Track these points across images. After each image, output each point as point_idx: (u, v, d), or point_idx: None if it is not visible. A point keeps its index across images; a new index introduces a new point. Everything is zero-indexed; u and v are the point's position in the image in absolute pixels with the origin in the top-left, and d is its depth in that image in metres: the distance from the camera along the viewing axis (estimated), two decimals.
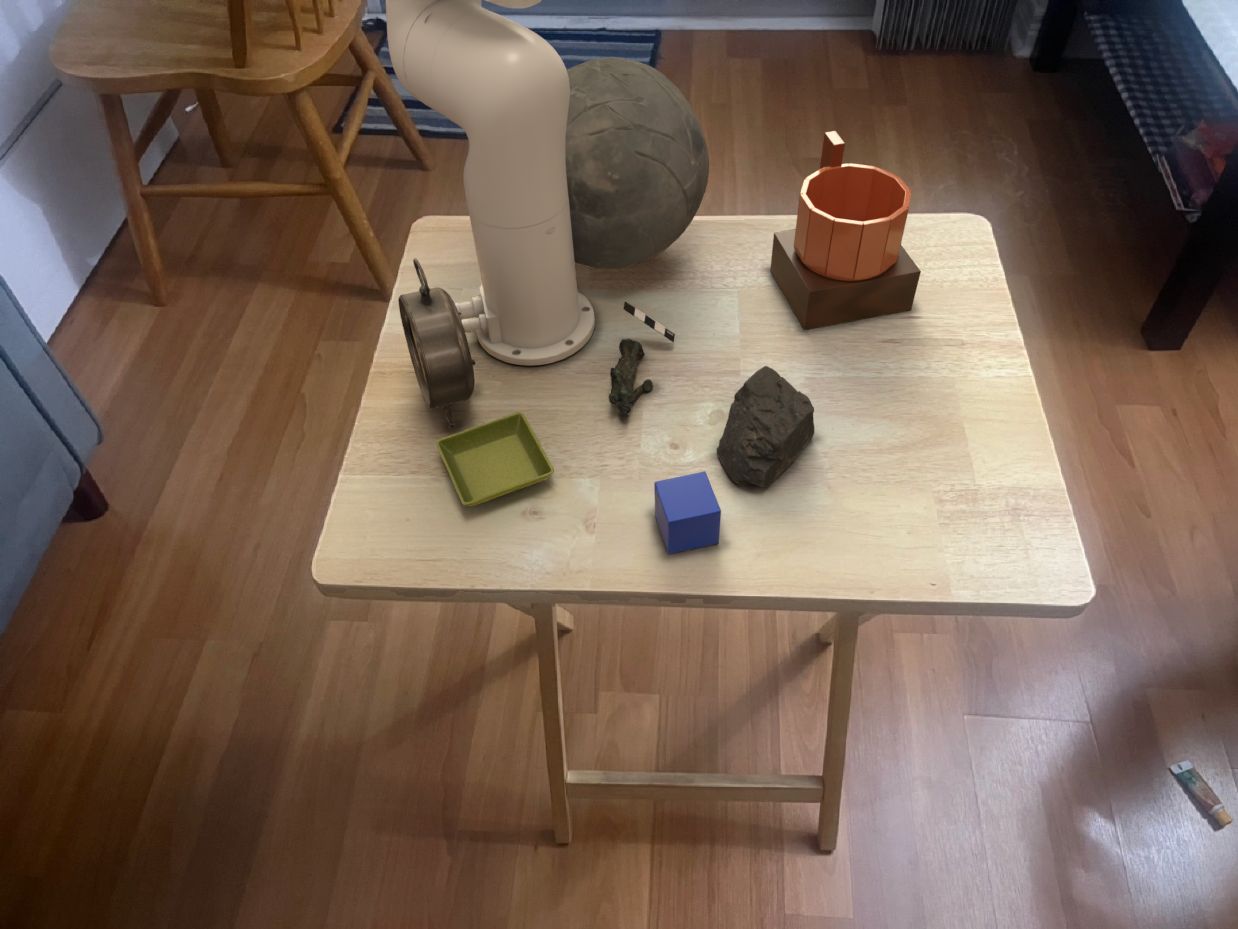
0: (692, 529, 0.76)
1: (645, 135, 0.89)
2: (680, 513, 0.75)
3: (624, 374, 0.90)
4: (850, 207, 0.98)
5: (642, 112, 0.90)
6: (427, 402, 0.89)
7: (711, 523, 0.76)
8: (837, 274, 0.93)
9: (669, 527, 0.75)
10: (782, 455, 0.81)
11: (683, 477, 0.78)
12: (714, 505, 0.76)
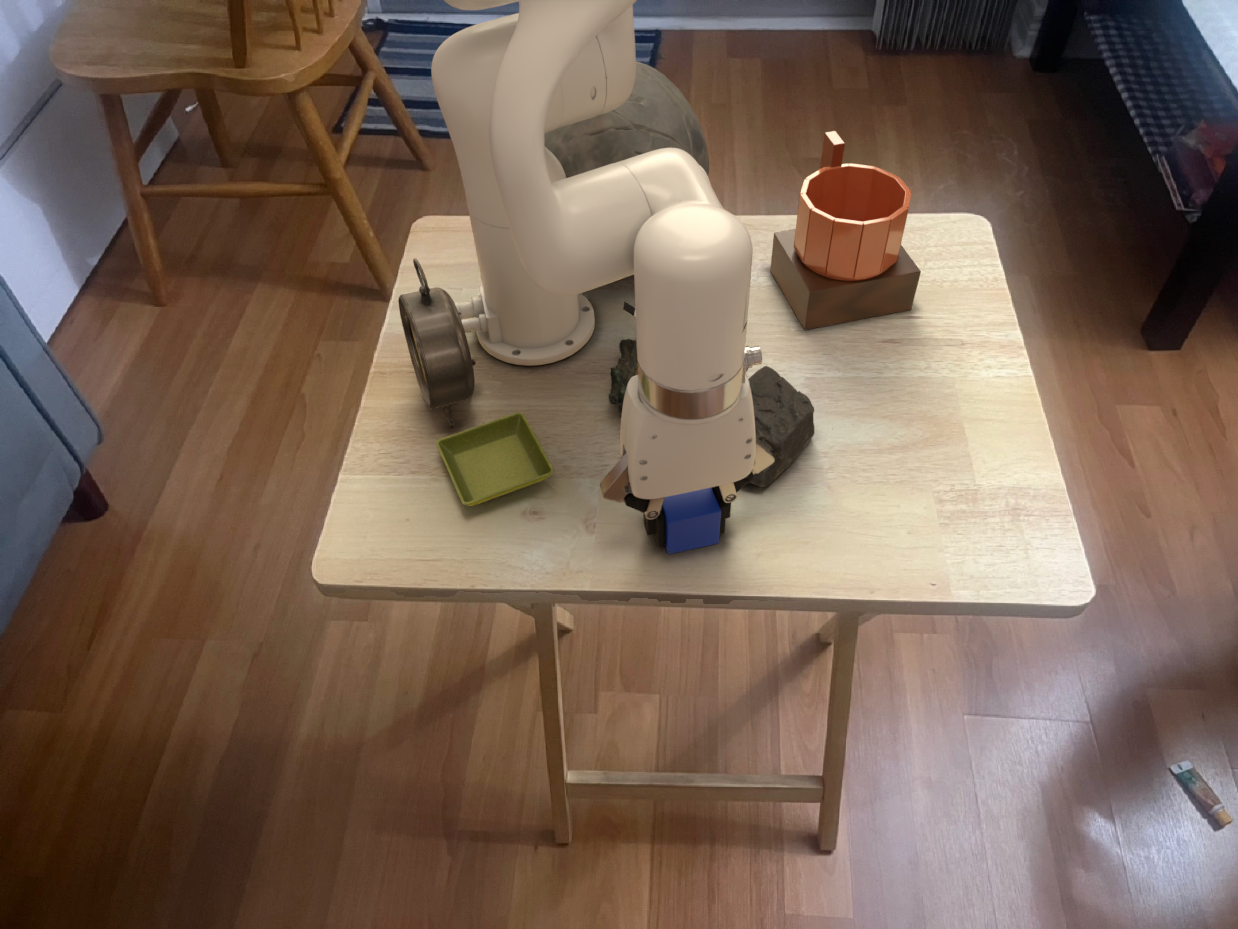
0: (692, 529, 0.76)
1: (645, 135, 0.89)
2: (680, 513, 0.75)
3: (624, 374, 0.90)
4: (850, 207, 0.98)
5: (642, 112, 0.90)
6: (427, 402, 0.89)
7: (711, 523, 0.76)
8: (837, 274, 0.93)
9: (669, 527, 0.75)
10: (782, 455, 0.81)
11: None
12: (714, 505, 0.76)
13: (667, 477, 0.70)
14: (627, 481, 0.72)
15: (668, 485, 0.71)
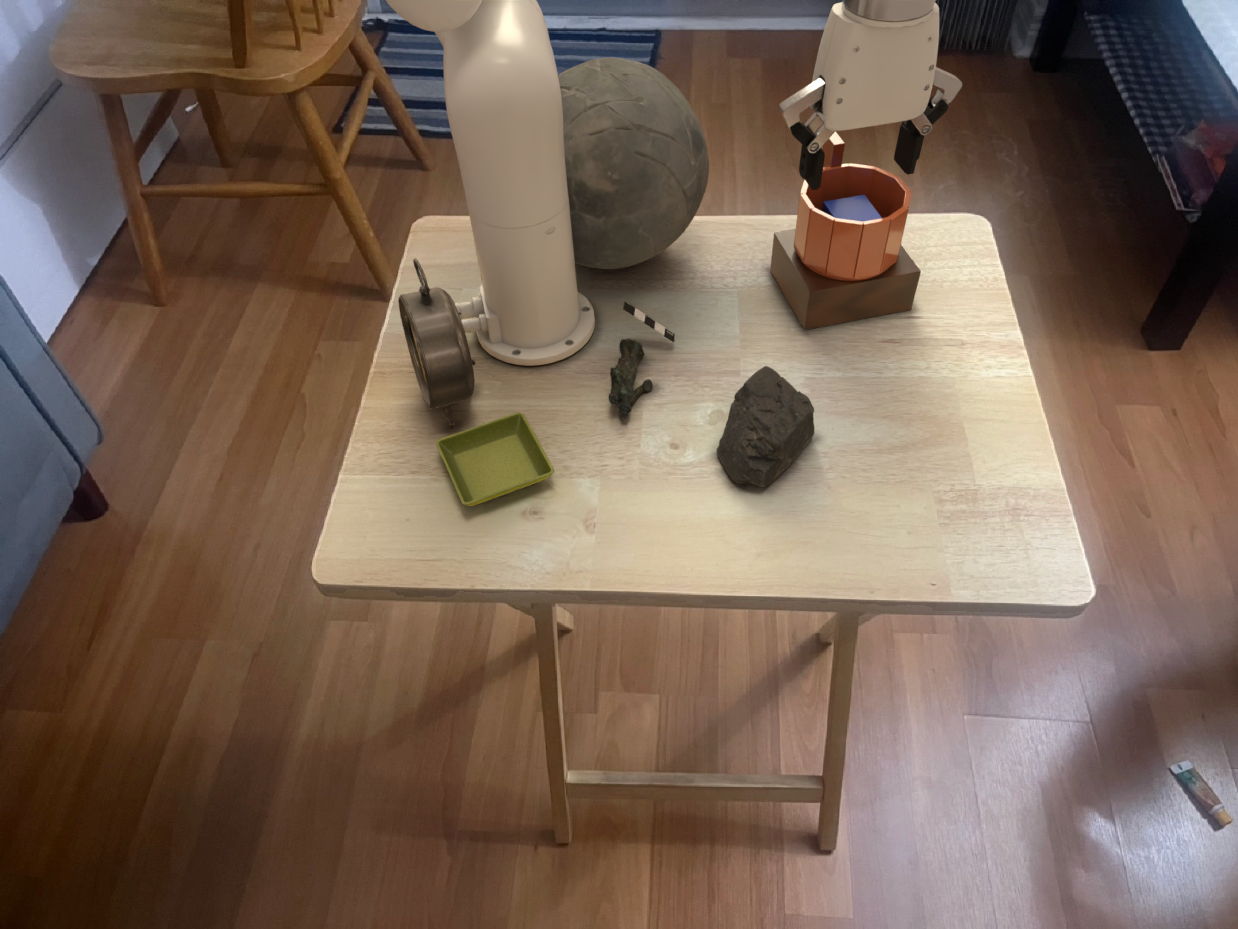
0: None
1: (645, 135, 0.89)
2: None
3: (624, 374, 0.90)
4: None
5: (642, 112, 0.90)
6: (427, 402, 0.89)
7: None
8: (837, 274, 0.93)
9: None
10: (782, 455, 0.81)
11: (846, 198, 0.94)
12: (876, 215, 0.92)
13: (859, 101, 0.81)
14: (809, 105, 0.82)
15: (857, 112, 0.82)
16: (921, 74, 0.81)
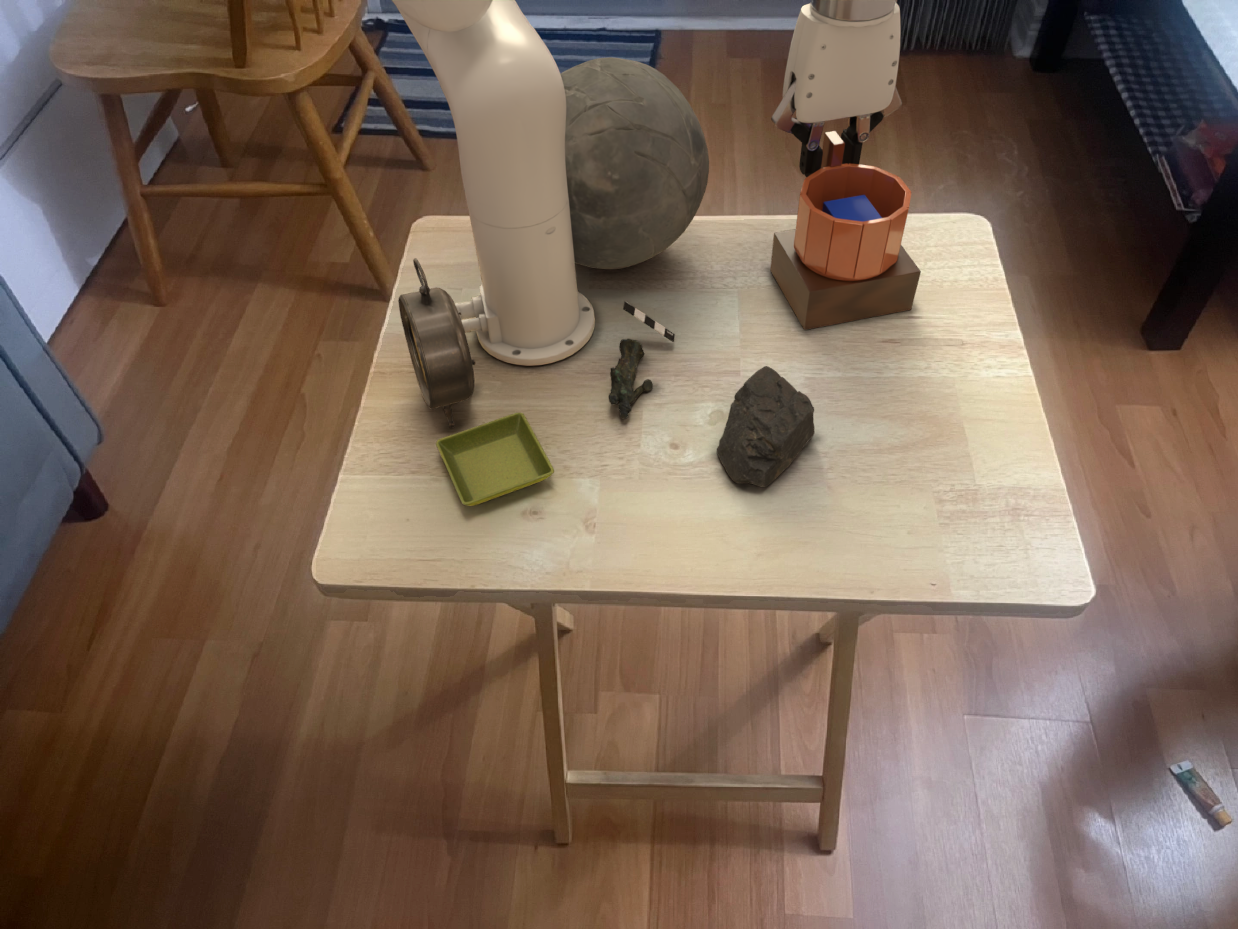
0: None
1: (645, 135, 0.89)
2: None
3: (624, 374, 0.90)
4: None
5: (642, 112, 0.90)
6: (427, 402, 0.89)
7: None
8: (837, 274, 0.93)
9: None
10: (782, 455, 0.81)
11: (846, 198, 0.94)
12: (876, 215, 0.92)
13: (827, 95, 0.88)
14: (795, 108, 0.90)
15: (826, 106, 0.89)
16: (885, 69, 0.87)
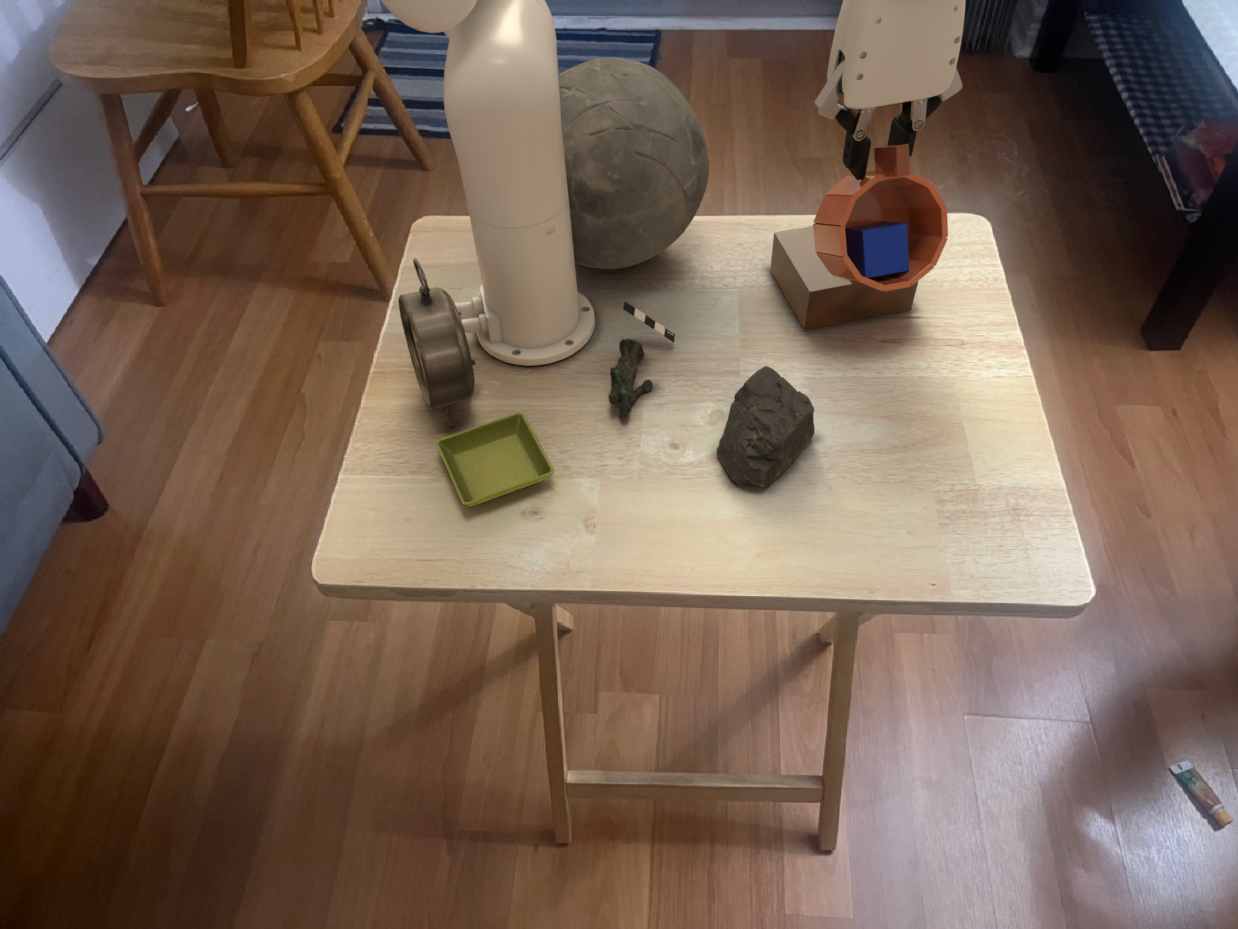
0: None
1: (645, 135, 0.89)
2: (876, 269, 0.88)
3: (624, 374, 0.90)
4: (888, 180, 0.88)
5: (642, 112, 0.90)
6: (427, 402, 0.89)
7: None
8: (842, 279, 0.92)
9: None
10: (782, 455, 0.81)
11: (887, 228, 0.87)
12: (905, 264, 0.88)
13: (880, 77, 0.77)
14: (841, 92, 0.79)
15: (879, 89, 0.78)
16: (946, 47, 0.76)
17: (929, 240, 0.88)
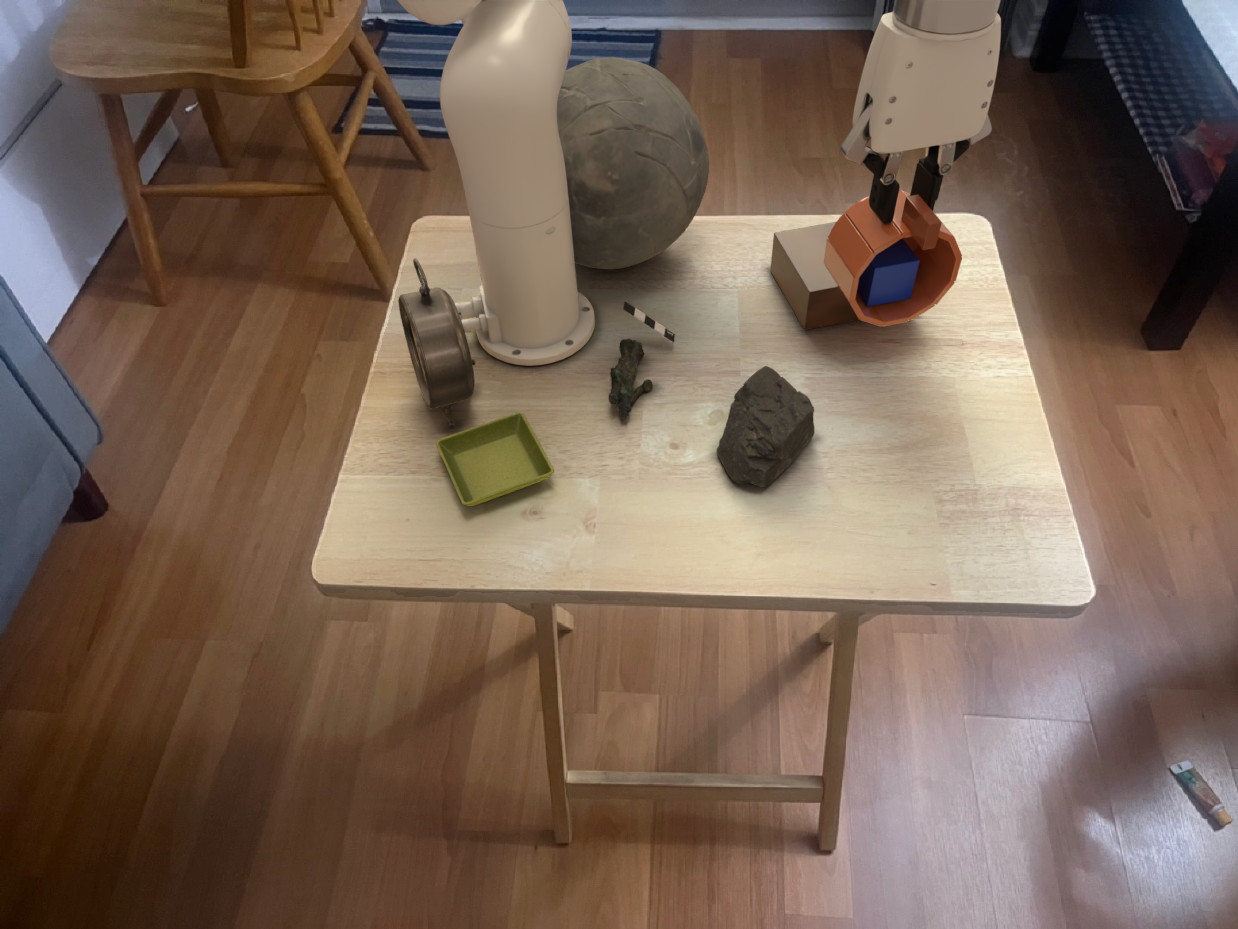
0: None
1: (645, 135, 0.89)
2: (879, 299, 0.88)
3: (624, 374, 0.90)
4: None
5: (642, 112, 0.90)
6: (427, 402, 0.89)
7: None
8: None
9: (865, 302, 0.89)
10: (782, 455, 0.81)
11: (899, 265, 0.86)
12: (908, 293, 0.89)
13: (910, 121, 0.74)
14: (869, 136, 0.76)
15: (908, 133, 0.74)
16: (979, 91, 0.73)
17: (936, 272, 0.88)
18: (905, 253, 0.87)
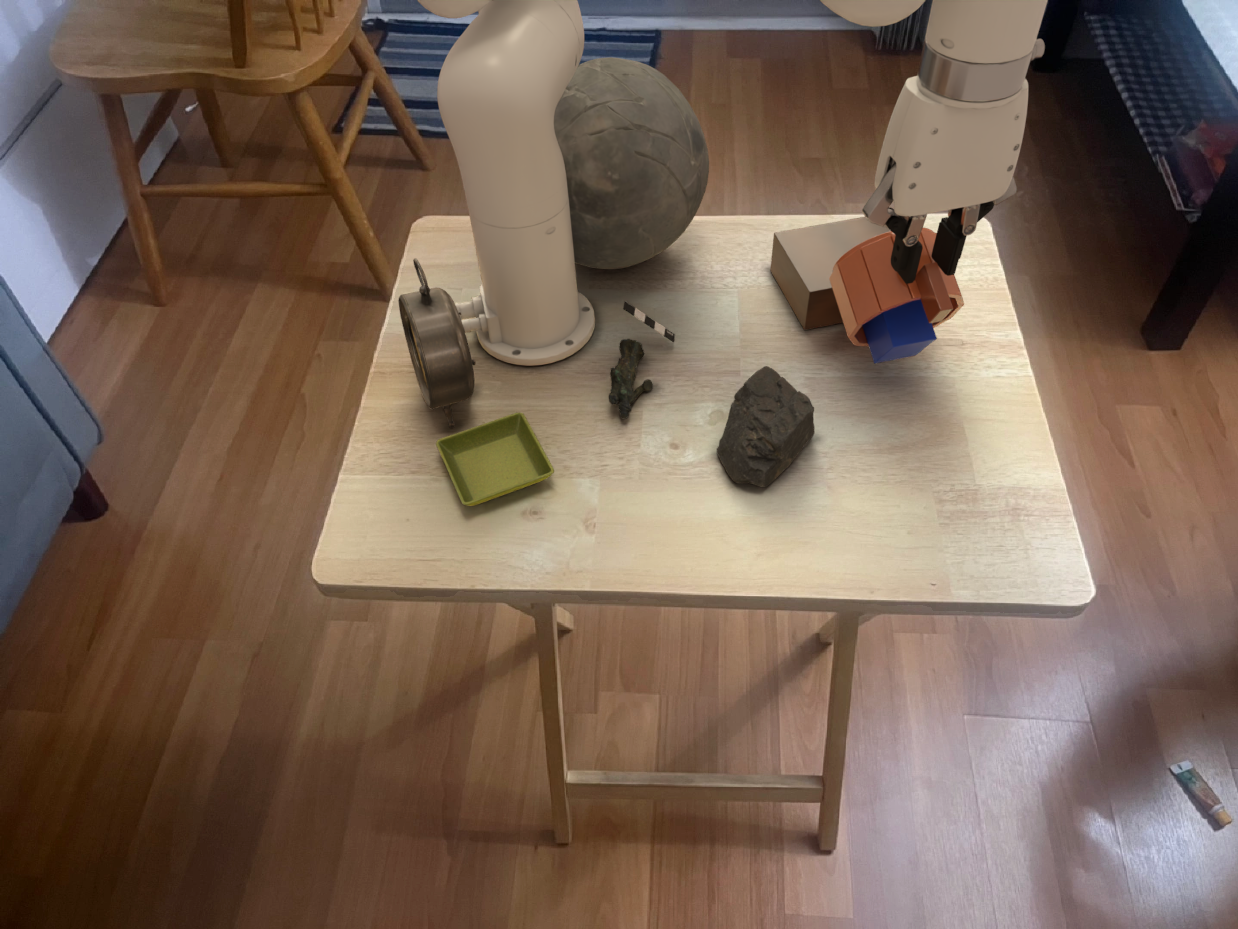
0: None
1: (645, 135, 0.89)
2: (887, 359, 0.89)
3: (624, 374, 0.90)
4: None
5: (642, 112, 0.90)
6: (427, 402, 0.89)
7: None
8: None
9: (872, 356, 0.90)
10: (782, 455, 0.81)
11: (916, 343, 0.86)
12: (915, 353, 0.90)
13: (934, 186, 0.72)
14: (892, 199, 0.74)
15: (932, 197, 0.73)
16: (1005, 155, 0.71)
17: None
18: (924, 326, 0.86)
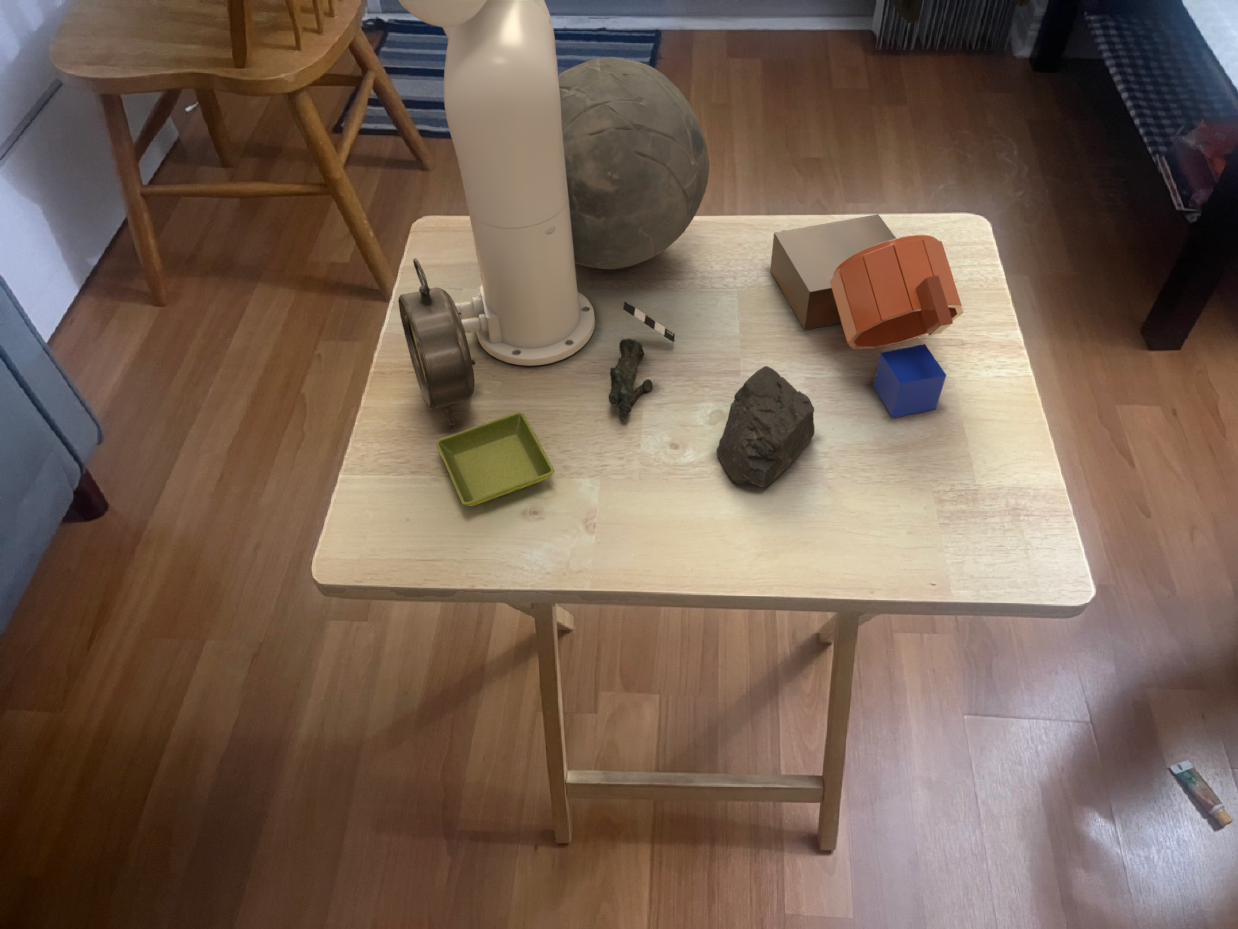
0: None
1: (645, 135, 0.89)
2: None
3: (624, 374, 0.90)
4: None
5: (642, 112, 0.90)
6: (427, 402, 0.89)
7: None
8: None
9: (875, 381, 0.90)
10: (782, 455, 0.81)
11: (915, 412, 0.88)
12: None
13: None
14: None
15: None
16: None
17: None
18: (930, 400, 0.87)
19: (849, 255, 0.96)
